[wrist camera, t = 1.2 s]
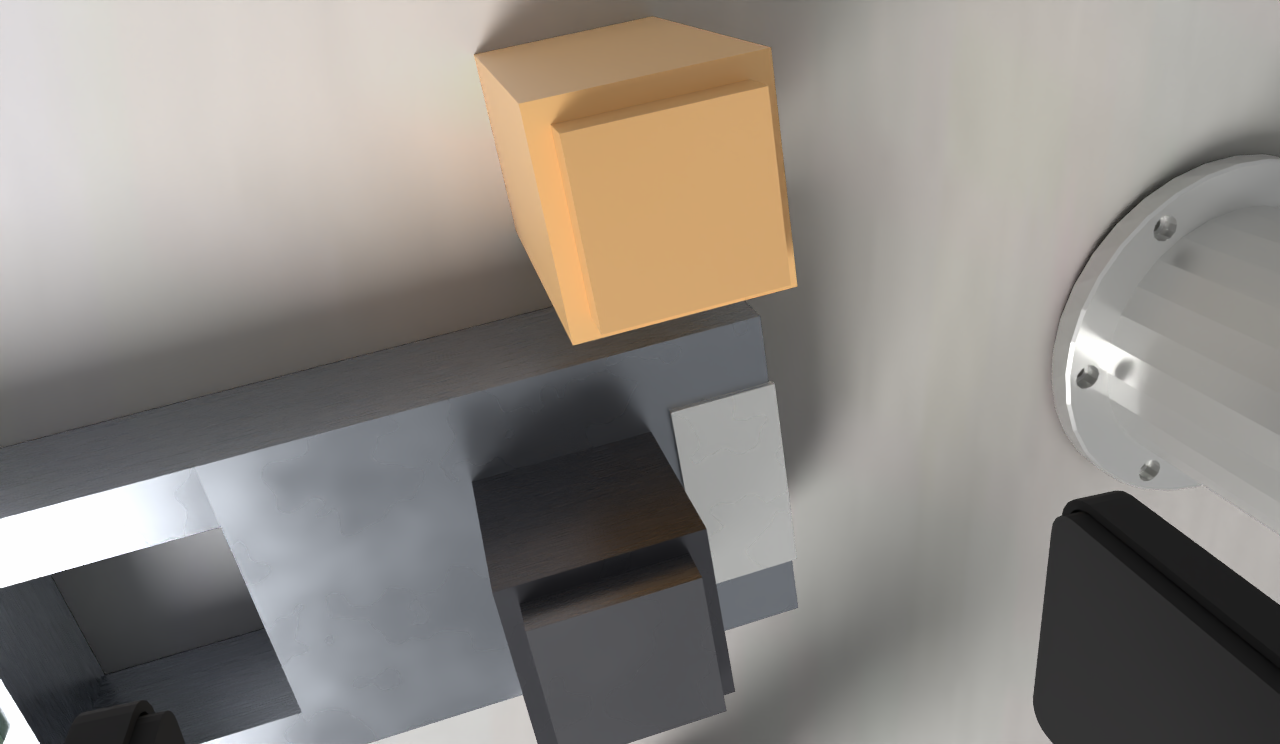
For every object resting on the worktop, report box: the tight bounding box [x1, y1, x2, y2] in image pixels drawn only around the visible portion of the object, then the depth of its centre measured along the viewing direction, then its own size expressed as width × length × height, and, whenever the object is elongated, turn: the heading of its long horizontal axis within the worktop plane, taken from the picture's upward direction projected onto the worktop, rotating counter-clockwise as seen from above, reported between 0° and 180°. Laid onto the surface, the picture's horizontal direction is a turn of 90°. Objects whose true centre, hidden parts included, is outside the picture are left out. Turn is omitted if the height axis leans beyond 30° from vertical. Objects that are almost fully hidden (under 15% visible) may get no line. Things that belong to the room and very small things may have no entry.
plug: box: [474, 16, 797, 345], centre depth 23 cm, size 5×5×10 cm
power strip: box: [0, 301, 798, 744], centre depth 26 cm, size 24×10×10 cm, turn 100°
